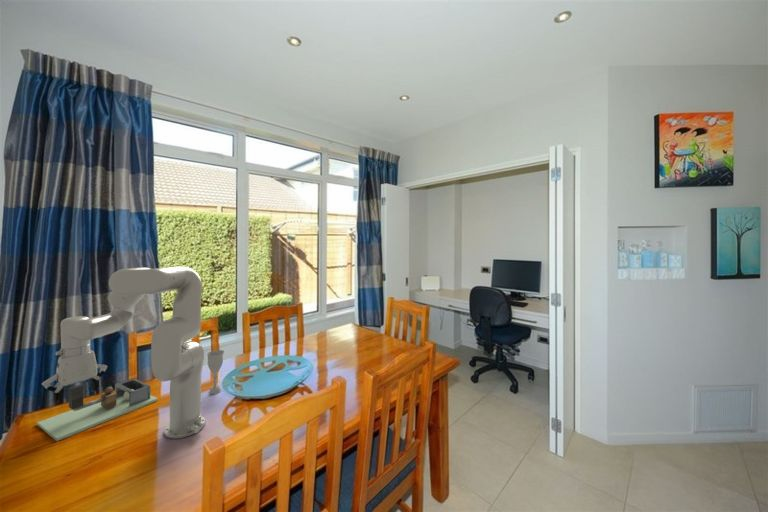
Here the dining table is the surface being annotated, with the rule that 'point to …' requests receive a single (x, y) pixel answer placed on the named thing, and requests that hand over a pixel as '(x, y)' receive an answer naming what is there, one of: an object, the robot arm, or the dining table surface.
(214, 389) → the chalice
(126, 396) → the ball
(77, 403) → the striker
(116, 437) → the dining table surface
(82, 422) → the plate
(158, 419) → the dining table surface
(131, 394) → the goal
